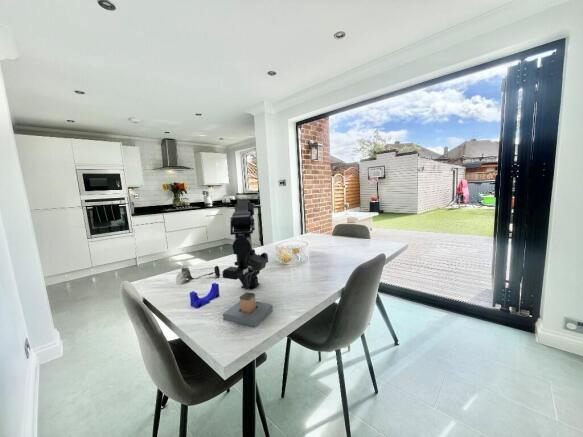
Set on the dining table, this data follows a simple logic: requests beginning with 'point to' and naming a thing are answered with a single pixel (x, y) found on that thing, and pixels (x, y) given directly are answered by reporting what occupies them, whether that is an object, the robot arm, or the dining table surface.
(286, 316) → the dining table surface
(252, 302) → the tan upright block
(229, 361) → the dining table surface
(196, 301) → the cable clip
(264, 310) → the socket plate
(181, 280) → the artificial flower
